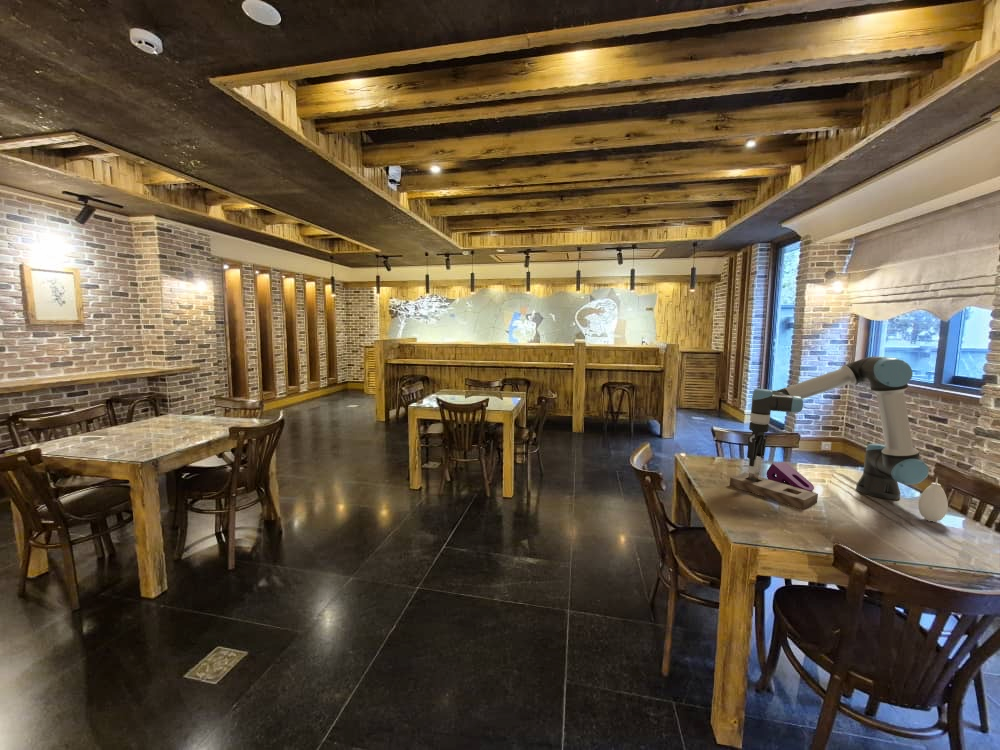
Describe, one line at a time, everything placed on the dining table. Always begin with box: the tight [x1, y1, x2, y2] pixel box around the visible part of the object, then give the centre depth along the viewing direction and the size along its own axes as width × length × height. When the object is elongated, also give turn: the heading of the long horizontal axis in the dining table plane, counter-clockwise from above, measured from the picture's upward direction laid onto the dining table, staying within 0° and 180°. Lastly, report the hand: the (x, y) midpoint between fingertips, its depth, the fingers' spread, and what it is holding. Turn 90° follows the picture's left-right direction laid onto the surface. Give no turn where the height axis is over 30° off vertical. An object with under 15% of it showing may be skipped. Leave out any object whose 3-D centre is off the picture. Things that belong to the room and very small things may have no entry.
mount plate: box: [729, 472, 819, 510], centre depth 186 cm, size 30×14×4 cm, turn 34°
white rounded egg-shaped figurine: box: [918, 476, 949, 523], centre depth 162 cm, size 8×8×18 cm
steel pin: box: [748, 455, 762, 482], centre depth 192 cm, size 4×4×14 cm
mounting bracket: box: [765, 461, 815, 492], centre depth 197 cm, size 9×8×18 cm
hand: (754, 471), depth 192 cm, fingers closed on steel pin, 4 cm apart
